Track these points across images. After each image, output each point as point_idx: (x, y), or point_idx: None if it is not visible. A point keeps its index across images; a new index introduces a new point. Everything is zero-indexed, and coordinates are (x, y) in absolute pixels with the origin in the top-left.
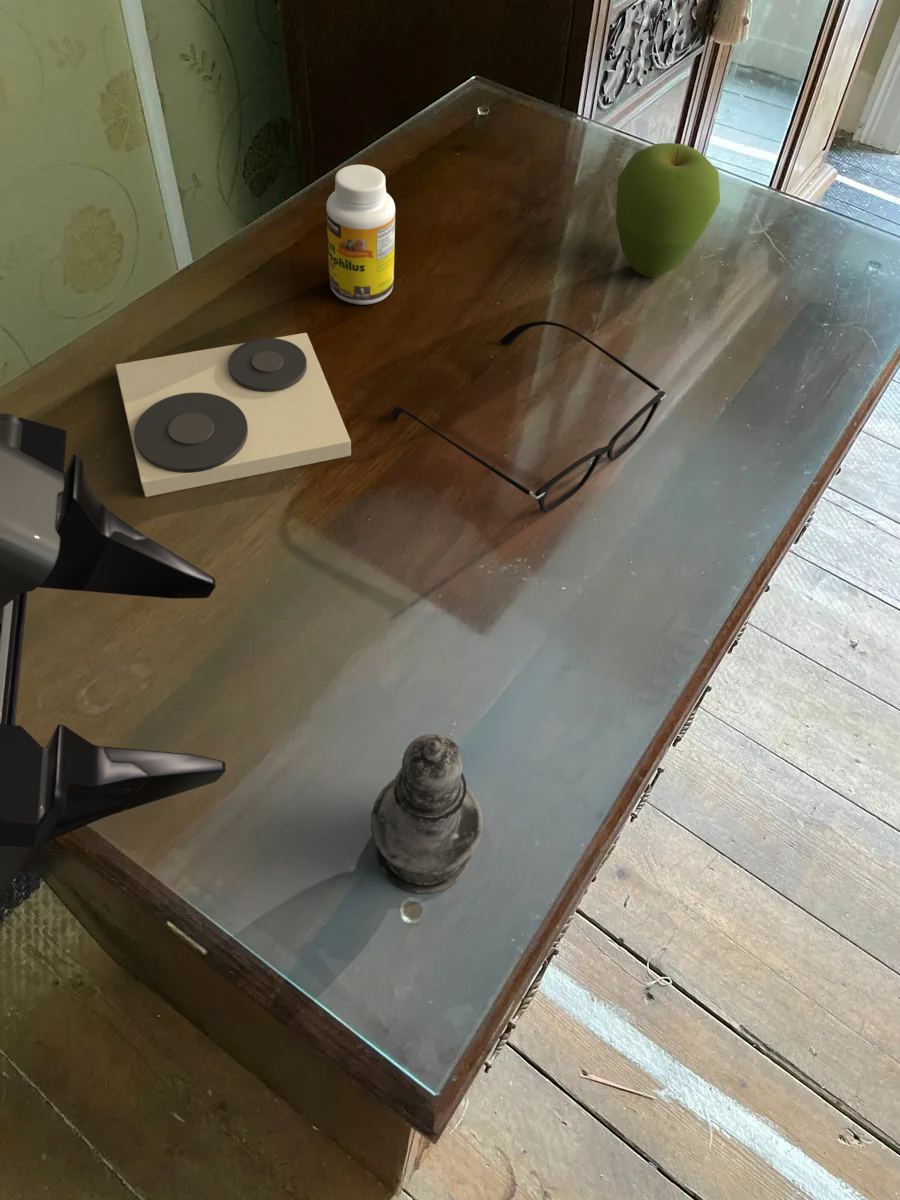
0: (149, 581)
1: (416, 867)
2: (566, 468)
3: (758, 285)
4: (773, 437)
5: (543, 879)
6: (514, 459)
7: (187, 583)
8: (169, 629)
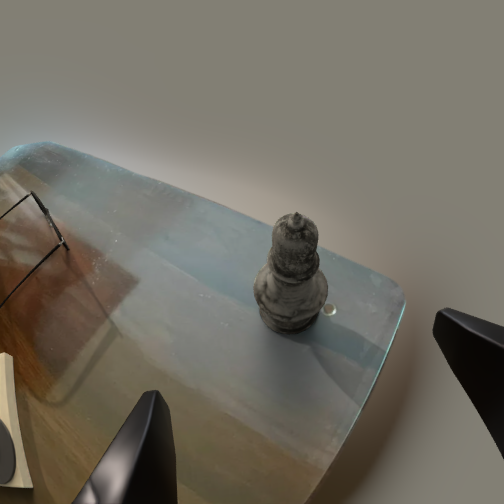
0: (161, 484)
1: (324, 289)
2: (52, 224)
3: (3, 178)
4: (65, 167)
5: None
6: None
7: (159, 427)
8: None
